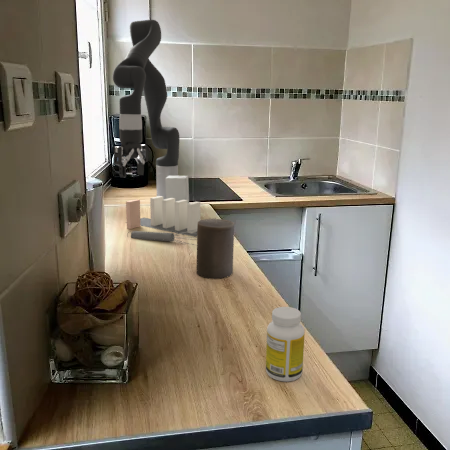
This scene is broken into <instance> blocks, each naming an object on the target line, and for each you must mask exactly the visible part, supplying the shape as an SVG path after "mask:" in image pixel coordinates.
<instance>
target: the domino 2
mask: <svg viewBox="0 0 450 450" xmlns="http://www.w3.org/2000/svg"><path fill="white" fill-rule="evenodd" d="M149 199H150V200H149V201H150V202H149V204H150V205H149V206H150V207H149V208H150V219H151V225H152V226H157V225H160V224H163V220H162V200H163V196H157V195H156V196H154V197H149Z"/></svg>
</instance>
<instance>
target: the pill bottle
mask: <svg viewBox="0 0 450 450" xmlns="http://www.w3.org/2000/svg"><path fill="white" fill-rule="evenodd" d="M301 320H302V312H301V311H300V310H299V309H298V308H295V307H291V306H279V307H278V306H277V307H276V308H273V310H272V313H271V321H270V322H269V324H268V325H267V327H266V348H265V349H266V350H265V371H266V374H267V375H268V376H269V378H271V379H272V380H273V379H274V380H276V381H278V382H294V381H296V380H298V379H300V377H301V376H302V374H303V366H304V352H305V351H304V350H305V349H304V348H305V328H304V326H303V324H302V323H301Z"/></svg>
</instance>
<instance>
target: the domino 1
mask: <svg viewBox="0 0 450 450" xmlns="http://www.w3.org/2000/svg"><path fill="white" fill-rule="evenodd" d="M125 208H126V222H127V223H126V229H127V230H132V229H136V228H140V227H142V226H141V225H140V218H141V200H140V199H130V200H127V201H125Z"/></svg>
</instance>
